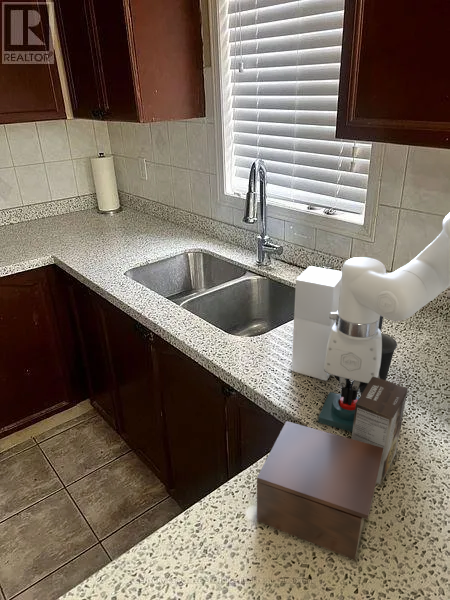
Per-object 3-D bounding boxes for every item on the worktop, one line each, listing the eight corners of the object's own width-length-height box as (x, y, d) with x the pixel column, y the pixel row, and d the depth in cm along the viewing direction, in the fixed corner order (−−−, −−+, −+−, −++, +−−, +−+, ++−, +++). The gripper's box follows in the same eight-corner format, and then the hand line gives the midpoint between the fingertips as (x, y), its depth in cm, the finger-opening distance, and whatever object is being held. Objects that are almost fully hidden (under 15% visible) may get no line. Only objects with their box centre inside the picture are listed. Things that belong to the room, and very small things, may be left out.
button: (358, 404, 93) (359, 397, 92) (355, 415, 90) (356, 408, 89) (341, 399, 95) (342, 393, 94) (337, 410, 92) (338, 403, 91)
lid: (383, 451, 72) (383, 447, 72) (367, 519, 61) (368, 515, 61) (286, 424, 79) (286, 420, 78) (256, 481, 68) (256, 477, 68)
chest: (370, 493, 77) (377, 451, 72) (354, 563, 66) (361, 519, 62) (284, 464, 83) (286, 424, 79) (256, 524, 72) (256, 481, 68)
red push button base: (375, 411, 95) (377, 396, 94) (367, 439, 88) (369, 424, 86) (328, 399, 99) (330, 384, 98) (317, 425, 92) (319, 410, 90)
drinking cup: (382, 408, 96) (396, 328, 87) (348, 396, 100) (357, 318, 91) (392, 389, 102) (405, 312, 93) (359, 378, 106) (368, 303, 97)
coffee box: (363, 441, 88) (372, 374, 80) (396, 455, 84) (409, 386, 77) (345, 472, 81) (354, 402, 74) (380, 488, 78) (393, 417, 70)
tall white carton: (326, 383, 104) (334, 287, 93) (291, 373, 108) (295, 279, 97) (337, 364, 111) (347, 272, 100) (304, 355, 115) (309, 265, 104)
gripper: (312, 324, 83) (307, 401, 92) (397, 341, 77) (383, 422, 86) (323, 307, 89) (317, 381, 98) (402, 321, 83) (389, 399, 92)
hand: (348, 400), depth 92 cm, fingers closed
